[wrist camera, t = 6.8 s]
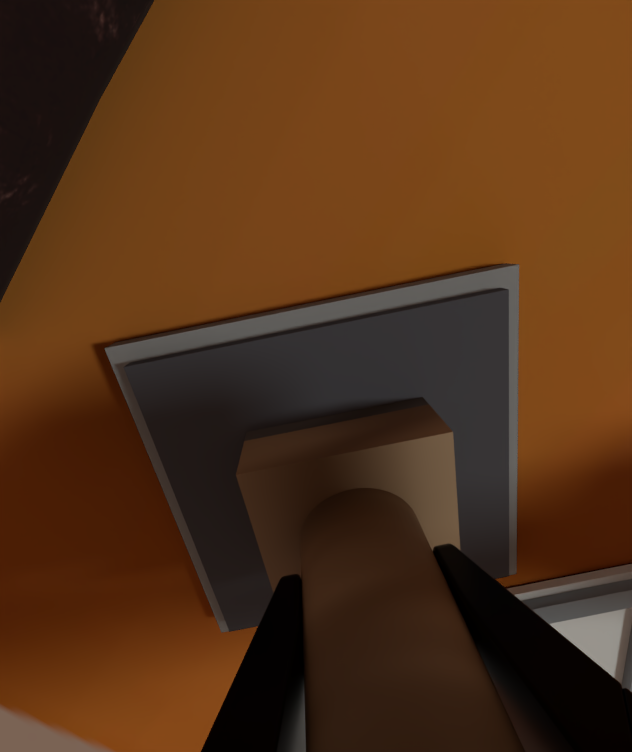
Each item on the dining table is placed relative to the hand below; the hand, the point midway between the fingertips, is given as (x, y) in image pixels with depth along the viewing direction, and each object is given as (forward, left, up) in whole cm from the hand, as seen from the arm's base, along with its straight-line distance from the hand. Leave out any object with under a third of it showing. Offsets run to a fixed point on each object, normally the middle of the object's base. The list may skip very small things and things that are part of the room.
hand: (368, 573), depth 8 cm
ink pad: (0, 0, -4) cm, 4 cm away
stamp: (0, 0, -3) cm, 3 cm away
